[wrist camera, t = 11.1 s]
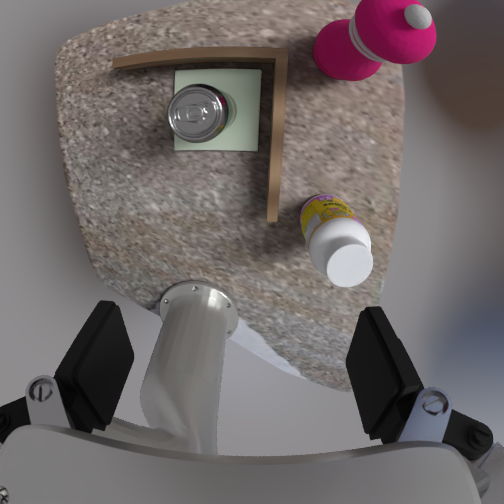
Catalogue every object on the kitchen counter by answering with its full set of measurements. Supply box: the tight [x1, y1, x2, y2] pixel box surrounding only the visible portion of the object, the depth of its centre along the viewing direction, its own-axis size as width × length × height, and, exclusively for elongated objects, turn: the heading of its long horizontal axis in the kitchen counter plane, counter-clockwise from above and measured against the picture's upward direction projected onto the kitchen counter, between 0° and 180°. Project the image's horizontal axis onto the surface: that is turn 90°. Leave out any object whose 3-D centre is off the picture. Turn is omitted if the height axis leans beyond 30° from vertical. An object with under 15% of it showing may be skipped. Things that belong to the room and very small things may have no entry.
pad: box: [174, 69, 261, 151], centre depth 31 cm, size 10×10×1 cm
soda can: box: [167, 84, 237, 143], centre depth 25 cm, size 5×5×12 cm
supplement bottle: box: [300, 194, 373, 287], centre depth 32 cm, size 7×7×13 cm
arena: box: [112, 47, 288, 222], centre depth 30 cm, size 20×19×4 cm
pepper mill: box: [313, 0, 436, 81], centre depth 19 cm, size 7×7×20 cm
